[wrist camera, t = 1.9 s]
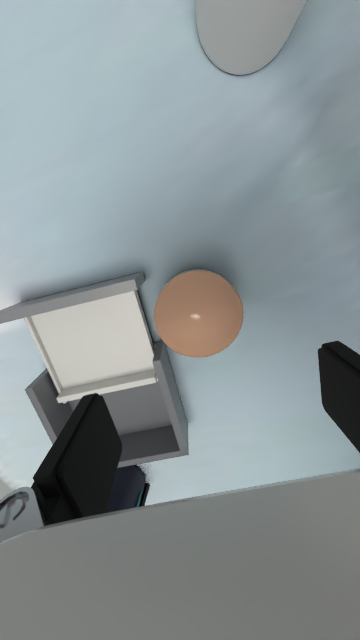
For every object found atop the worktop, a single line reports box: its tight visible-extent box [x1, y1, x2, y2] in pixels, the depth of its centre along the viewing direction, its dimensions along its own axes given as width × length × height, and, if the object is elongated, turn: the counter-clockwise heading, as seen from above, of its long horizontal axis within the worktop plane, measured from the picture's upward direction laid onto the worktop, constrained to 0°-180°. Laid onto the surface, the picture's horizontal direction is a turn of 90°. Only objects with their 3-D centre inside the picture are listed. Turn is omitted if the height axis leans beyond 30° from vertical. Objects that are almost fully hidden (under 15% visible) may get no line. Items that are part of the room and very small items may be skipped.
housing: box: [25, 341, 189, 468], centre depth 30 cm, size 12×15×5 cm
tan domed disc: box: [154, 269, 243, 357], centre depth 22 cm, size 8×8×2 cm
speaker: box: [105, 465, 150, 513], centre depth 32 cm, size 8×6×10 cm
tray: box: [0, 272, 158, 404], centre depth 27 cm, size 13×14×5 cm
